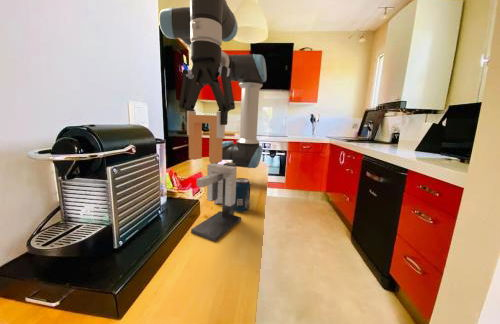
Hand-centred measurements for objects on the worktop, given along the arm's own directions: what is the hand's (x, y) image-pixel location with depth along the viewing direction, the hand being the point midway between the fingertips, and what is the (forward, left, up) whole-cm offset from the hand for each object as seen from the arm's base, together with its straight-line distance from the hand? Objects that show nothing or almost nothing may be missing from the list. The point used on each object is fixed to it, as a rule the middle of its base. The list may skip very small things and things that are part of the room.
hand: (205, 136), depth 54 cm
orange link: (0, 0, -6) cm, 6 cm away
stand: (-7, 0, -30) cm, 30 cm away
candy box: (-28, -12, -30) cm, 43 cm away
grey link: (-8, 0, -22) cm, 23 cm away
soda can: (-22, 0, -30) cm, 37 cm away
